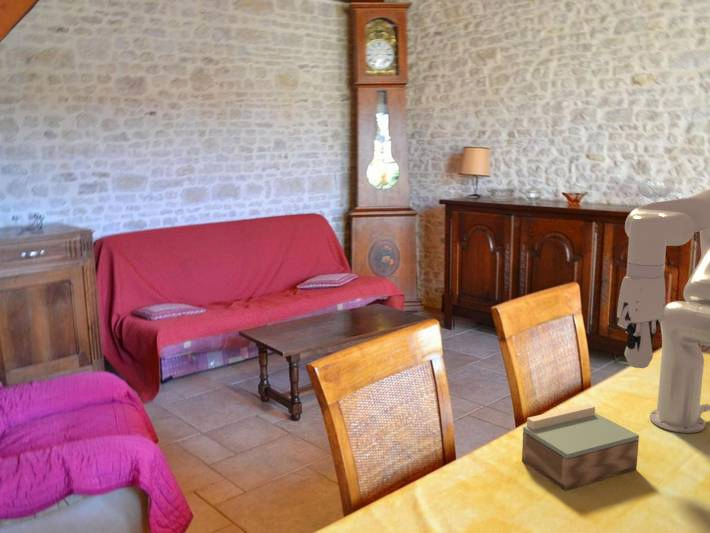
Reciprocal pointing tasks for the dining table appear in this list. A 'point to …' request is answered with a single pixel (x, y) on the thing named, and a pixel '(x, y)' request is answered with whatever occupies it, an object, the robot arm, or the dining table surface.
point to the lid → (577, 431)
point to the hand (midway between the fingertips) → (639, 349)
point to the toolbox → (579, 463)
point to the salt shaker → (641, 349)
